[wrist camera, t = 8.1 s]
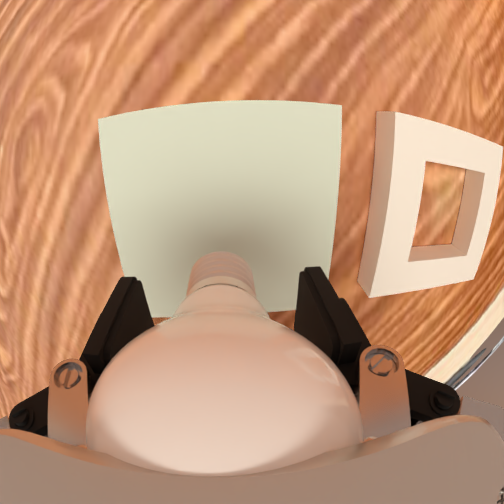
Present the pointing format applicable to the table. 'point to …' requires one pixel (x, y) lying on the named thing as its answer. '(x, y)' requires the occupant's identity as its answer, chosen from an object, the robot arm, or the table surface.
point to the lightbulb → (221, 387)
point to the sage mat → (223, 192)
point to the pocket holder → (408, 202)
